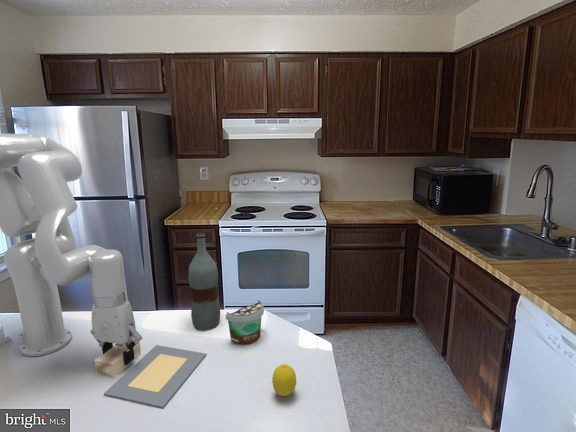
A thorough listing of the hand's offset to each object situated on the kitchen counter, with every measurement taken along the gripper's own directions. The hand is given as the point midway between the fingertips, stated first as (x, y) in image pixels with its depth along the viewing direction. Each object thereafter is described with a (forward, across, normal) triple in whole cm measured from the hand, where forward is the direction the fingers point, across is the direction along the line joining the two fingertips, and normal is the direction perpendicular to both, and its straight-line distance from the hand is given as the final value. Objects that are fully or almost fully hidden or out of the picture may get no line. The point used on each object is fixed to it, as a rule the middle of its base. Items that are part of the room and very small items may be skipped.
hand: (119, 359), depth 93 cm
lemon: (+1, +46, 0) cm, 46 cm away
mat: (+1, +13, -1) cm, 13 cm away
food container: (+1, +30, +19) cm, 36 cm away
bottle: (+1, +13, +24) cm, 27 cm away
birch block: (+1, 0, 0) cm, 1 cm away
